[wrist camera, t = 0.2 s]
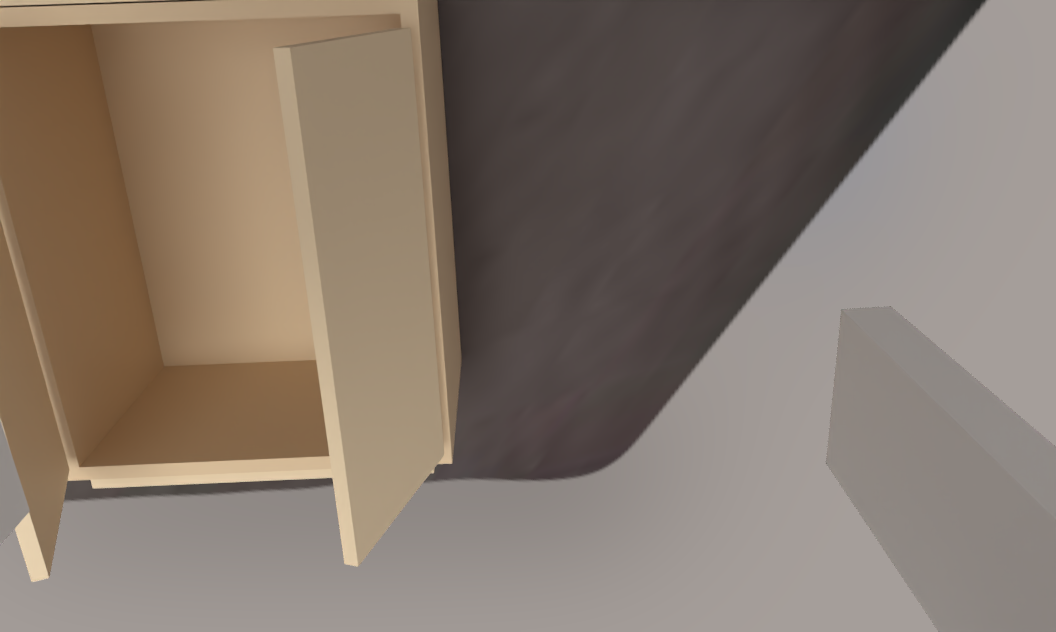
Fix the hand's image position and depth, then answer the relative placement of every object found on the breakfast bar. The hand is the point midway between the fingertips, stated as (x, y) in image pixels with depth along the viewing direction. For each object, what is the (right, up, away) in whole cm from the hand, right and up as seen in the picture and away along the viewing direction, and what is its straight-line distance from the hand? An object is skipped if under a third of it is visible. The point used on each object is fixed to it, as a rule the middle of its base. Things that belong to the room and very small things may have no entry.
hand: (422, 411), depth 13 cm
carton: (-10, +7, +27) cm, 30 cm away
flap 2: (-2, +4, +18) cm, 18 cm away
